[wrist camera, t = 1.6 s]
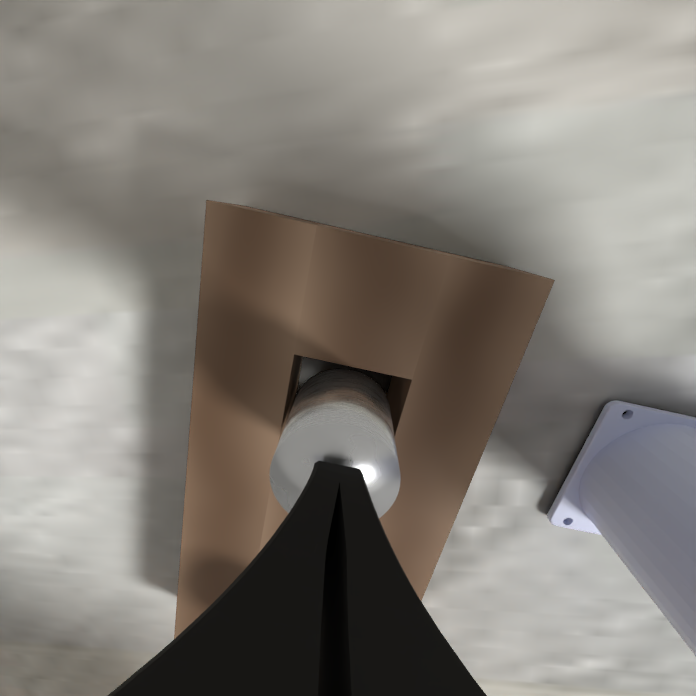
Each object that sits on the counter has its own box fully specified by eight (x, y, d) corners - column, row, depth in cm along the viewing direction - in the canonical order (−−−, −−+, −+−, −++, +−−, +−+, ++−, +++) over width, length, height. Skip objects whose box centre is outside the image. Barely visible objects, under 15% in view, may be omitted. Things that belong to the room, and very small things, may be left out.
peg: (401, 380, 14) (416, 439, 10) (377, 462, 15) (382, 540, 11) (302, 359, 14) (279, 410, 10) (286, 443, 15) (261, 517, 11)
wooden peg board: (508, 266, 16) (554, 280, 12) (372, 638, 24) (374, 713, 21) (244, 205, 15) (206, 200, 12) (201, 606, 24) (171, 678, 20)
